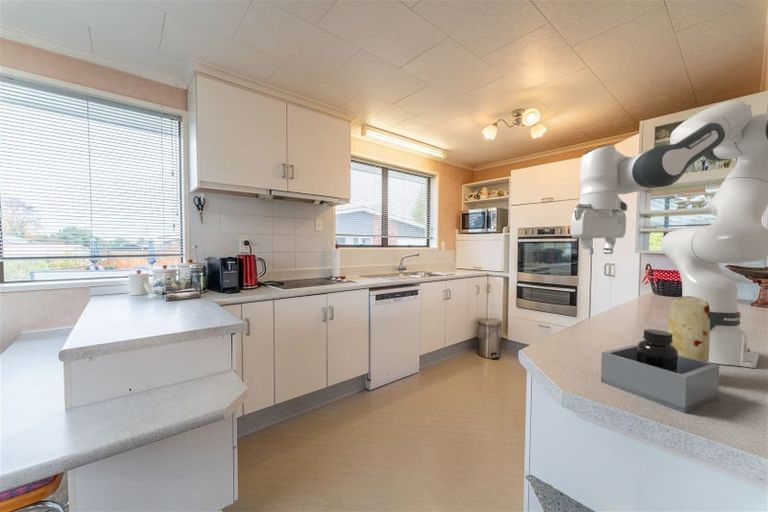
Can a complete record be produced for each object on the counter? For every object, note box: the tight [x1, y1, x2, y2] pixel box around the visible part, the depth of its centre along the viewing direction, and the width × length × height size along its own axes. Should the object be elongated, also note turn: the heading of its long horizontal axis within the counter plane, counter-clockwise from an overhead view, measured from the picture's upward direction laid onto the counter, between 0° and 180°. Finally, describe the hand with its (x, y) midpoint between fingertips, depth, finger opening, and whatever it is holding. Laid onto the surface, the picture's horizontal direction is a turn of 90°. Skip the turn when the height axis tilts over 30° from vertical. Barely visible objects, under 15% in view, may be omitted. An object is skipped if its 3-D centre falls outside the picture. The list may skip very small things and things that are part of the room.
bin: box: [600, 344, 720, 414], centre depth 68 cm, size 15×15×7 cm
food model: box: [667, 296, 710, 363], centre depth 75 cm, size 10×7×20 cm
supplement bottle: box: [637, 328, 678, 373], centre depth 68 cm, size 7×7×12 cm
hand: (598, 254), depth 84 cm, fingers open, 8 cm apart
